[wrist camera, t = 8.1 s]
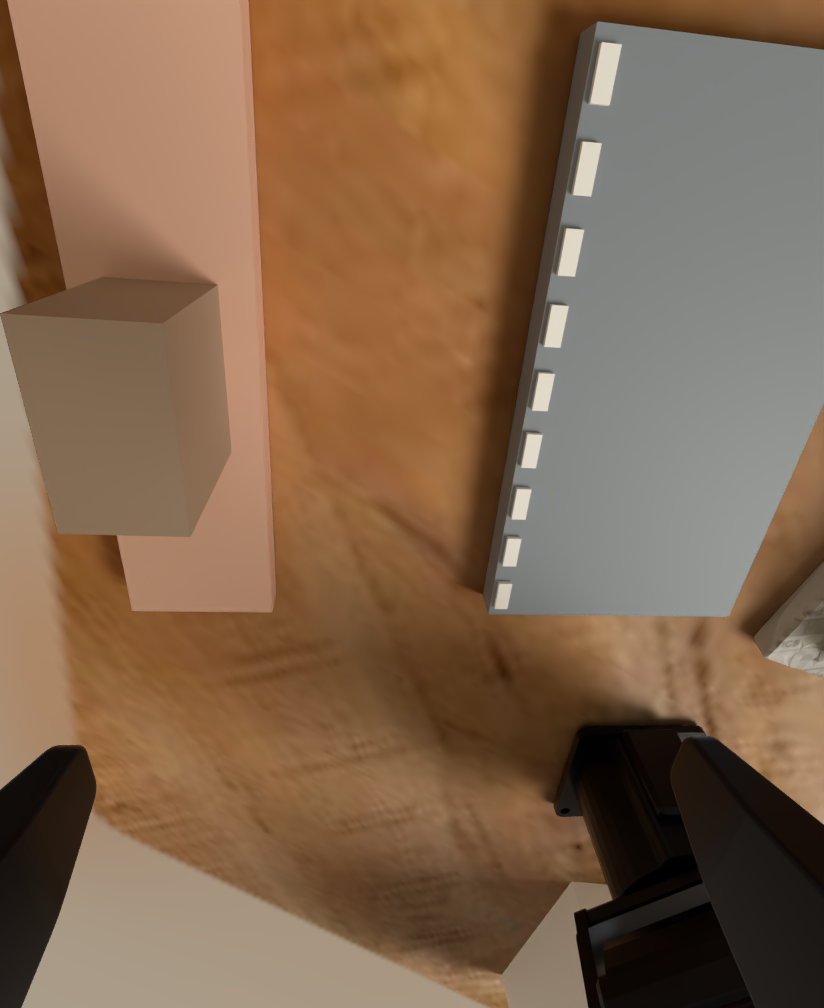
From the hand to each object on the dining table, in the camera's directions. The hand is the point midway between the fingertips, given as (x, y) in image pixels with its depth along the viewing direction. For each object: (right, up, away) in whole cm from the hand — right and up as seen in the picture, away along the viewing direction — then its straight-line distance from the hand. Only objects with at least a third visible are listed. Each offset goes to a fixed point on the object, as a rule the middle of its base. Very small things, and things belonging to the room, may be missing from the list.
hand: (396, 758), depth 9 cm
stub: (-7, +8, +9) cm, 14 cm away
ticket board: (+9, +8, +11) cm, 16 cm away
